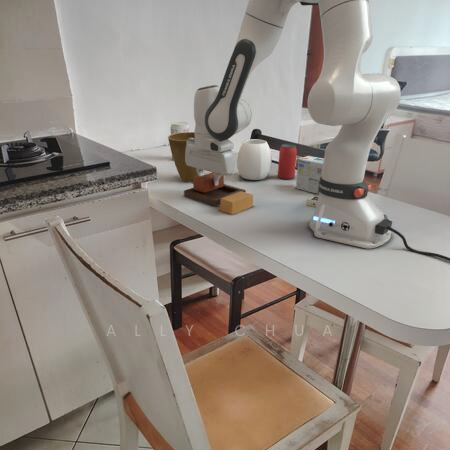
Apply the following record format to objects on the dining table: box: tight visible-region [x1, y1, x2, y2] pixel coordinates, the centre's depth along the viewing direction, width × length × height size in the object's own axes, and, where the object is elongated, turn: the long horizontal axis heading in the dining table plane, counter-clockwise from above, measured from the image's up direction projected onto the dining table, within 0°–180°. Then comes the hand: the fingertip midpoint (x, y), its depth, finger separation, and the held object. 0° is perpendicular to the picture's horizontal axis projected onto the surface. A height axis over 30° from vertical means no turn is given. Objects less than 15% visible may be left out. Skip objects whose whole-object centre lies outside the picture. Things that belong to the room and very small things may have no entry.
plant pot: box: [167, 131, 199, 183], centre depth 154 cm, size 15×15×16 cm
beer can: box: [277, 143, 298, 180], centre depth 158 cm, size 7×7×12 cm
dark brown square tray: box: [183, 183, 247, 208], centre depth 141 cm, size 15×15×2 cm
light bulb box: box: [295, 155, 324, 195], centre depth 145 cm, size 11×7×11 cm, turn 47°
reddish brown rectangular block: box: [192, 172, 225, 193], centre depth 141 cm, size 5×10×4 cm, turn 137°
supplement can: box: [169, 121, 191, 159], centre depth 181 cm, size 8×8×15 cm
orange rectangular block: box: [220, 191, 254, 215], centre depth 130 cm, size 5×10×4 cm, turn 137°
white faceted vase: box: [236, 138, 273, 181], centre depth 157 cm, size 13×13×14 cm
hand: (208, 183), depth 141 cm, fingers closed on reddish brown rectangular block, 5 cm apart
